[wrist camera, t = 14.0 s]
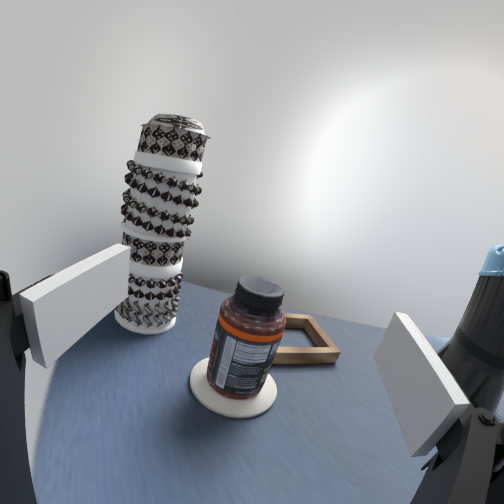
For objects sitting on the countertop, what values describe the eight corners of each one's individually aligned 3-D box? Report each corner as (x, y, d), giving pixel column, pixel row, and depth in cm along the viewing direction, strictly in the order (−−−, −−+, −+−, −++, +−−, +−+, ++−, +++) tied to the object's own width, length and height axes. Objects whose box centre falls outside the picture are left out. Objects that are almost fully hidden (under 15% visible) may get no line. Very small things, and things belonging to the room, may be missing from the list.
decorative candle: (114, 295, 37) (141, 116, 31) (175, 302, 41) (210, 129, 34) (107, 331, 29) (135, 104, 22) (182, 339, 33) (226, 122, 26)
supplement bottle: (211, 358, 30) (232, 264, 27) (263, 371, 30) (294, 280, 27) (198, 393, 24) (221, 288, 21) (260, 408, 24) (299, 307, 21)
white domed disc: (262, 361, 32) (263, 357, 32) (286, 416, 24) (288, 412, 24) (187, 356, 30) (187, 352, 29) (193, 417, 21) (194, 413, 21)
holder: (307, 324, 44) (310, 315, 44) (335, 362, 35) (340, 352, 34) (248, 320, 41) (251, 310, 41) (267, 363, 32) (271, 352, 32)
